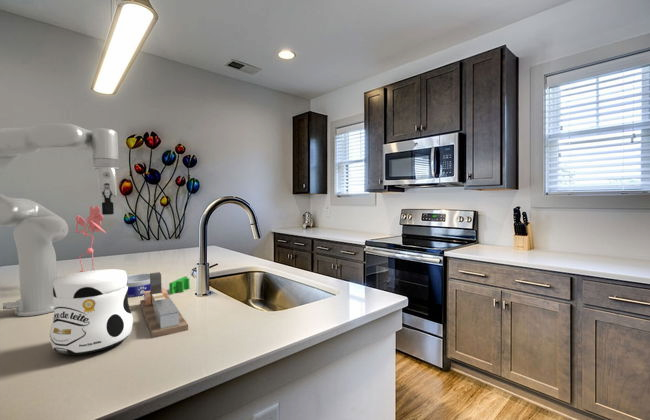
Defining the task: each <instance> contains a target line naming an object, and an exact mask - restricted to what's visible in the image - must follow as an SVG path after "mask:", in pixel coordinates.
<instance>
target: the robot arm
mask: <svg viewBox="0 0 650 420" xmlns="http://www.w3.org/2000/svg"><path fill="white" fill-rule="evenodd" d="M118 138H119V136H118V132H117V131H116V130H114V129H111V128H105V127H102V128H101V127H97V128H96V127H95V128H93V129H92V130H89V129H86V128H83V127H81V126H79V125H76V124H74V123H42V124H41V123H40V124H35V125H31V126H28V127H4V128H3V127H2V128H0V174H1V173H3V172H4V171H5V170H6V169H8V167H9V166H10V165H11V164H13V163H14V161H16V160H17V159H18V158H19V156H20V155H27V154H29V155H30V154H32V155H33V154H37V153H39V152H40V151H41V149H46V148H71V149H75V150H78V151H81V152H89V151H90V152H92V155H91V156H92V169H94V170H96V171H97V187H98V194H99V196H100V197H101V198H102V202H101V212H102V213H101V214H102V215H103V216H105V215H106V216H108V215H109V216H110V215H114V214H115V212H114V202H113V197H114V198H116V197H117V196H118V193H117V192H118V191H117V186H118V185H117V173H116V171H117V170H119V169H120V166H119V163H120V162H119V139H118ZM0 227H1V228H2V227H3V228H4V227H5V228H8V227H15V228H14V229H13V239H14V243H15V246H16V251H17V256H18V257H17V259H18V272H19V289H20V290H19V291H20V298H19V299H16V300H15V301H12V302H11V301H8V302H3V303H2V309H3V310H13V309H15V310H14V315H15V316H17V317H33V316H38V315H44V314H49V313H51V312H52V313H54V306H53V296H54V295H53V283H54V280H55V279H57V278H58V267H57V266H58V265H57V254H56V251H55V248H54V244H53V243H55V242H59V241H62V240H63V239H64V238H65V237H67V235H68V233H69V225H68V223H67V221H66V220H65V219H64V218H62V217H61V216H59V215H58V214H56V213H55V212H53V211H51V210H50V209H48V208H46V207H44V206H43V205H42V204H40V203H38V202H36V201H34V200H32V199H28V198H19V197H18V198H16V197H15V198H14V197H8V196H6V195H5V194H2V193H0Z"/></svg>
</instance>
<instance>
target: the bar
mask: <svg viewBox="0 0 650 420" xmlns="http://www.w3.org/2000/svg"><path fill="white" fill-rule="evenodd" d="M149 273H150V294H151V302H152V304H153V301H155V300H161V299H165V297H164V296H163V294H162V289H163V288H162V274H161V272H160V271H158V272H149Z"/></svg>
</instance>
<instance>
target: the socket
mask: <svg viewBox="0 0 650 420" xmlns="http://www.w3.org/2000/svg"><path fill="white" fill-rule="evenodd" d="M162 294H163V296H164V297H165V299H166V298H168V296H169V293H168V291H167V290H166V288H165V287H164V288H162ZM143 300H144V302H145V304H146V305H150V304H151V294H150V291H145V292H144V296H143Z"/></svg>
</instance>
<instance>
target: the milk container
mask: <svg viewBox="0 0 650 420" xmlns="http://www.w3.org/2000/svg"><path fill="white" fill-rule="evenodd" d="M84 271H85V272H80V271H79V272H74V273H73V272H72V273H70V274H65V275H62V276H59V277H58V276H57V279H55V280H54V283H53V295H54V296H53V306H54V311H53V317H52V323H51V325H50V330H49V339H50V345H51V347H52V349H53V350H54V351H55V352H56V353H59V354H61V355H67V356H68V355H69V356H76V355H77V356H78V355H86V354H91V353H95V352H100V351H103V350H106V349H110V348H112V347H114V346H116V345H118V344H120V343H122V342H123V341H124V340H126V339H127V338H128V337H129V336H130V334H131V332H132V330H133V323H134V320H133V318H134V317H133V314H132V310H131V308H130V304H129V298H128V286H127V283H128V282H127V276H128V274H127V271H125V270H124V269H114V268H110V269H108V268H107V269H95V270H93V269H92V270H84Z"/></svg>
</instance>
